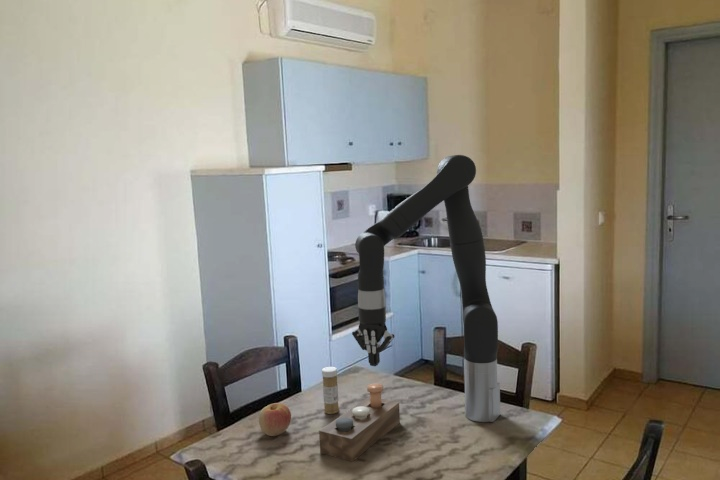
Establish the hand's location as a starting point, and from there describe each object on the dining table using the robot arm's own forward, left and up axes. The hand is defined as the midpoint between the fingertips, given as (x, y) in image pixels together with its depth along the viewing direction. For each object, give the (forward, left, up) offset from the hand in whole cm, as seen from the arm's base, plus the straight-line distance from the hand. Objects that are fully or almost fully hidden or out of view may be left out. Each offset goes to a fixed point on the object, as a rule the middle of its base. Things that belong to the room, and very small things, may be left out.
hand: (374, 365), depth 166 cm
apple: (+23, +17, -18) cm, 34 cm away
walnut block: (0, +8, -18) cm, 19 cm away
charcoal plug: (0, +16, -17) cm, 23 cm away
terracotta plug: (0, 0, -13) cm, 13 cm away
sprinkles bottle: (+17, -2, -18) cm, 25 cm away
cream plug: (0, +8, -17) cm, 19 cm away
